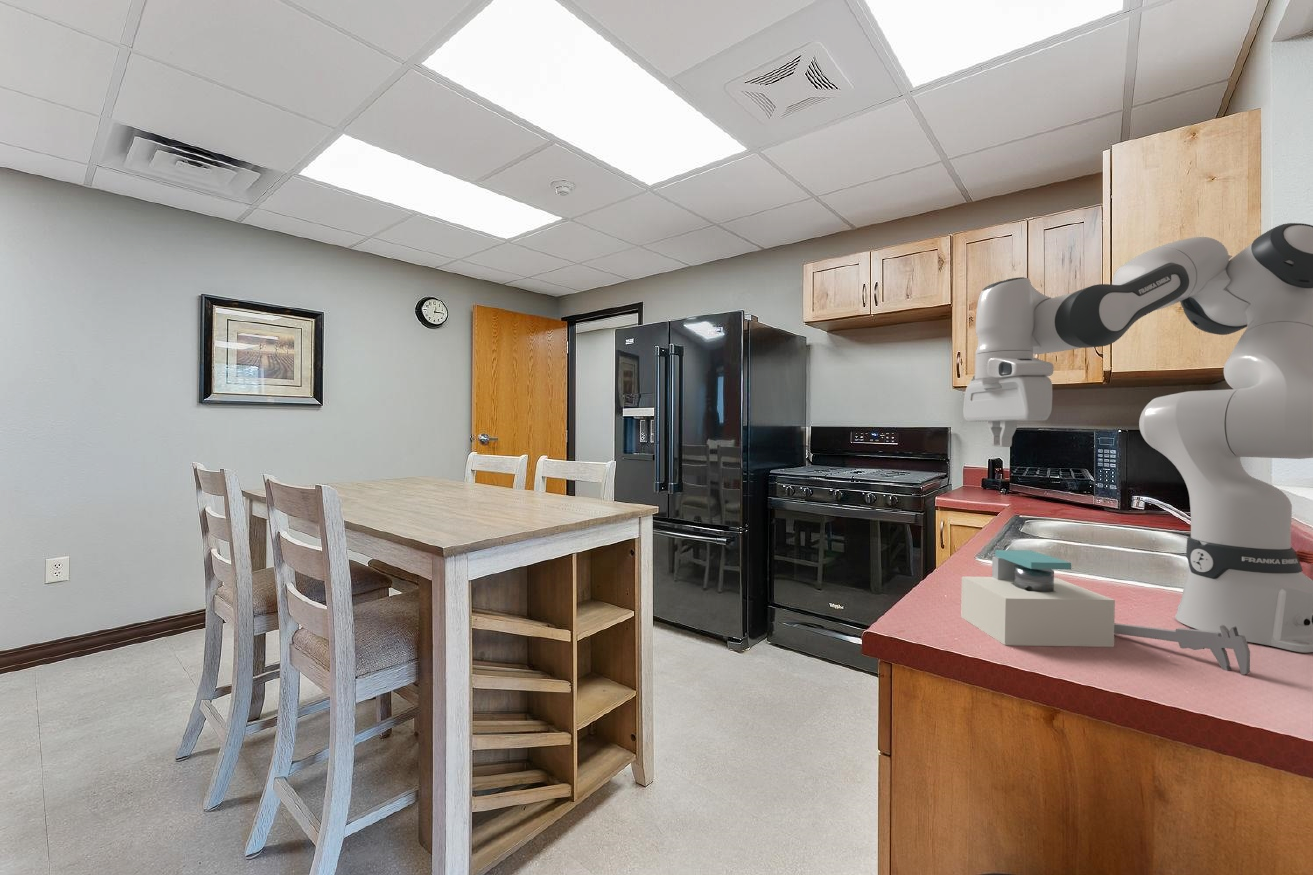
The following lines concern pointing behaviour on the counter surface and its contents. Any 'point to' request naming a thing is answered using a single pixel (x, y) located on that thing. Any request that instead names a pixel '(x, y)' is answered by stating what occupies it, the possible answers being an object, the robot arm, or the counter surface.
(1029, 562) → the block
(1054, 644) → the block
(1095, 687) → the counter surface
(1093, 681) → the counter surface
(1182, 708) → the counter surface
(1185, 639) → the caliper
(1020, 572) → the pin
